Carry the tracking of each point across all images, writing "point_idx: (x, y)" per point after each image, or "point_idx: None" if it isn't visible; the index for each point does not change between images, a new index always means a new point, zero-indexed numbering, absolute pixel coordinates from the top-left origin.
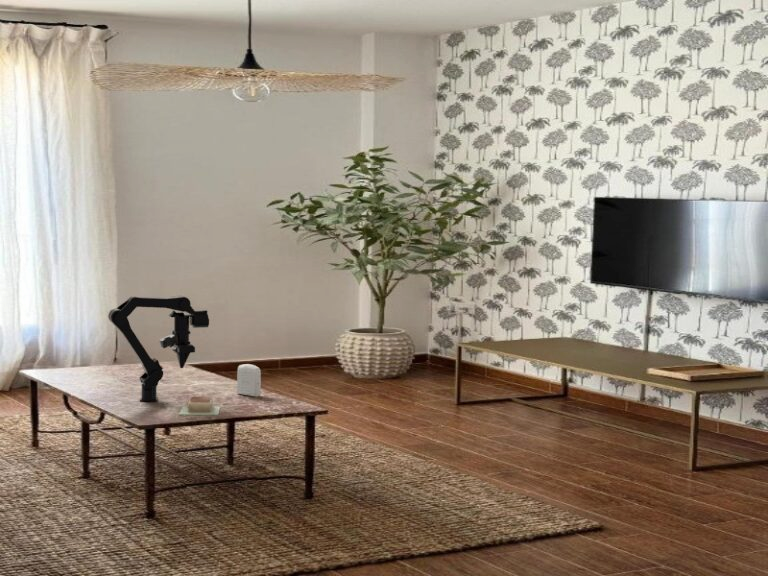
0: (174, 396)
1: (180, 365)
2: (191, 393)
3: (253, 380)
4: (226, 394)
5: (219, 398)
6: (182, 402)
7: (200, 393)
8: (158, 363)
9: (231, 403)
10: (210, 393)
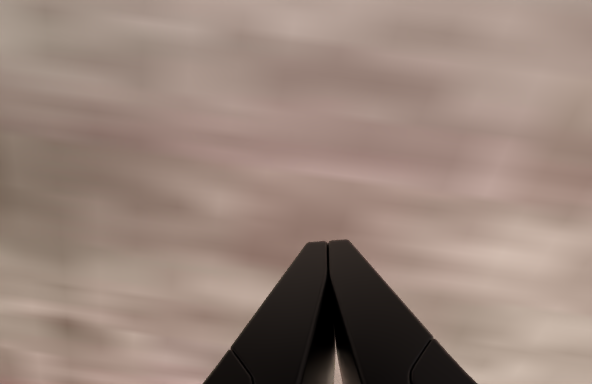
0: (437, 39)
1: (287, 272)
2: (522, 197)
3: None
4: None
5: None
6: (132, 73)
7: (493, 255)
8: None
9: (94, 357)
10: (465, 311)
